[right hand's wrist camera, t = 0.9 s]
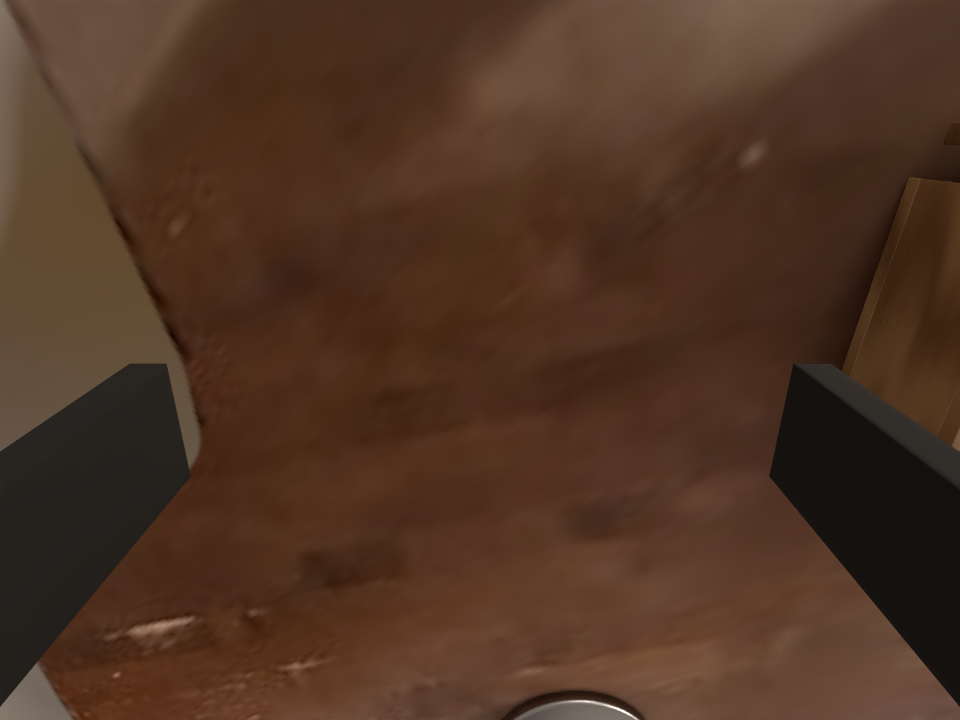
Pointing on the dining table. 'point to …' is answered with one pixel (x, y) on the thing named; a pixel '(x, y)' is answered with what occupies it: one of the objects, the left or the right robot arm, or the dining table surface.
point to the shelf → (954, 141)
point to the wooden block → (916, 312)
